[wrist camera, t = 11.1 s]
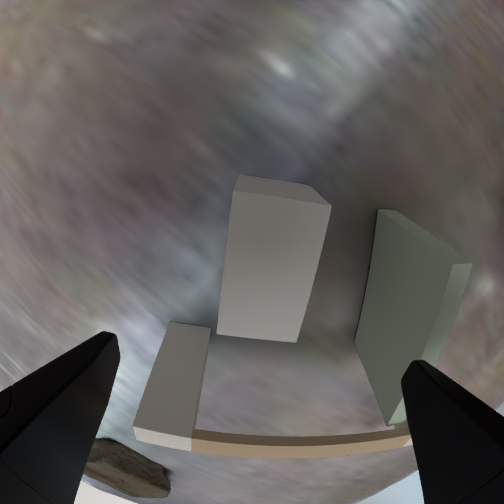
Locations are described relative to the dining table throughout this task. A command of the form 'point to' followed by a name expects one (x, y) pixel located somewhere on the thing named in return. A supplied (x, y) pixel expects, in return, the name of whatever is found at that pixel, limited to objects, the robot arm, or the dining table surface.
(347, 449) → the wall frame
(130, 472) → the brown stone slab
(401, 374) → the door
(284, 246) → the block
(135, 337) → the dining table surface
